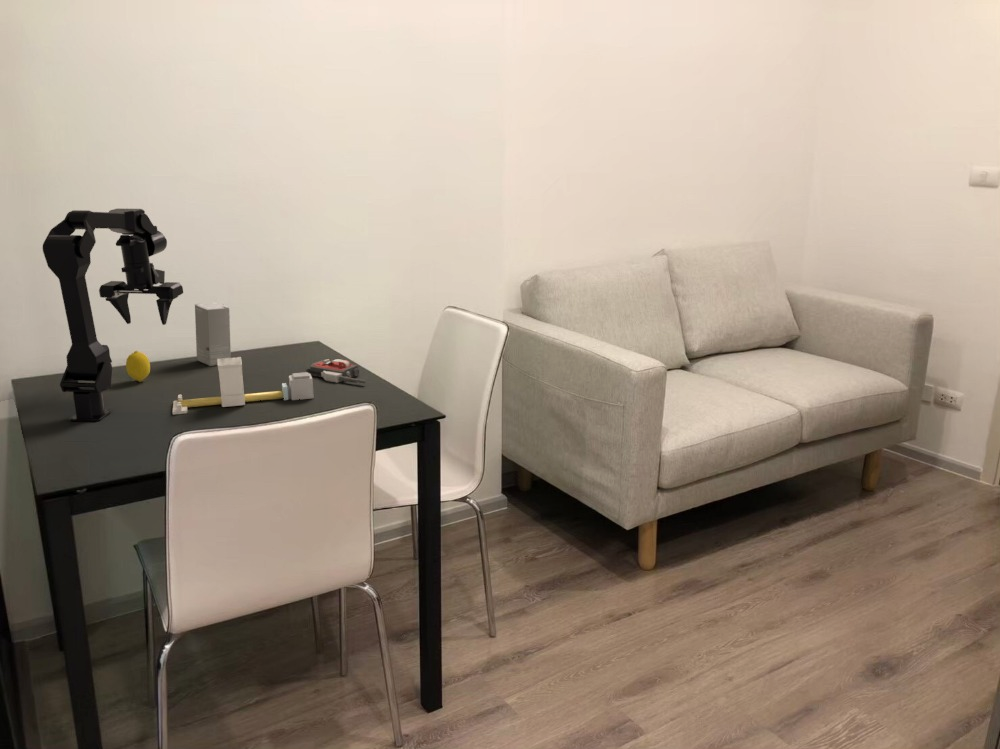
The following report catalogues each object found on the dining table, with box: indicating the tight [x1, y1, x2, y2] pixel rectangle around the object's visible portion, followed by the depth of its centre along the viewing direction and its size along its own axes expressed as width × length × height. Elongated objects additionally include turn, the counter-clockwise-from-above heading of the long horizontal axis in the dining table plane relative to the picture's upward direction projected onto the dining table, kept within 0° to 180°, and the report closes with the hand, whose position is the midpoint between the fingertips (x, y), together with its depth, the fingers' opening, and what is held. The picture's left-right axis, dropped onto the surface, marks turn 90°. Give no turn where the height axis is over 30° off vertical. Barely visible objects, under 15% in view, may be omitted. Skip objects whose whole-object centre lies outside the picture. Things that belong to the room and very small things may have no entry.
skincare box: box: [194, 301, 232, 367], centre depth 226 cm, size 8×7×16 cm
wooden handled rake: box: [172, 390, 284, 415], centre depth 192 cm, size 26×8×2 cm, turn 109°
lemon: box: [125, 350, 151, 383], centre depth 208 cm, size 6×6×8 cm
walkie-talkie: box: [305, 358, 367, 384], centre depth 213 cm, size 9×4×20 cm
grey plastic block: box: [281, 371, 315, 401], centre depth 196 cm, size 7×4×5 cm, turn 109°
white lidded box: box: [217, 356, 246, 408], centre depth 191 cm, size 5×7×10 cm
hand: (146, 323), depth 205 cm, fingers open, 9 cm apart
